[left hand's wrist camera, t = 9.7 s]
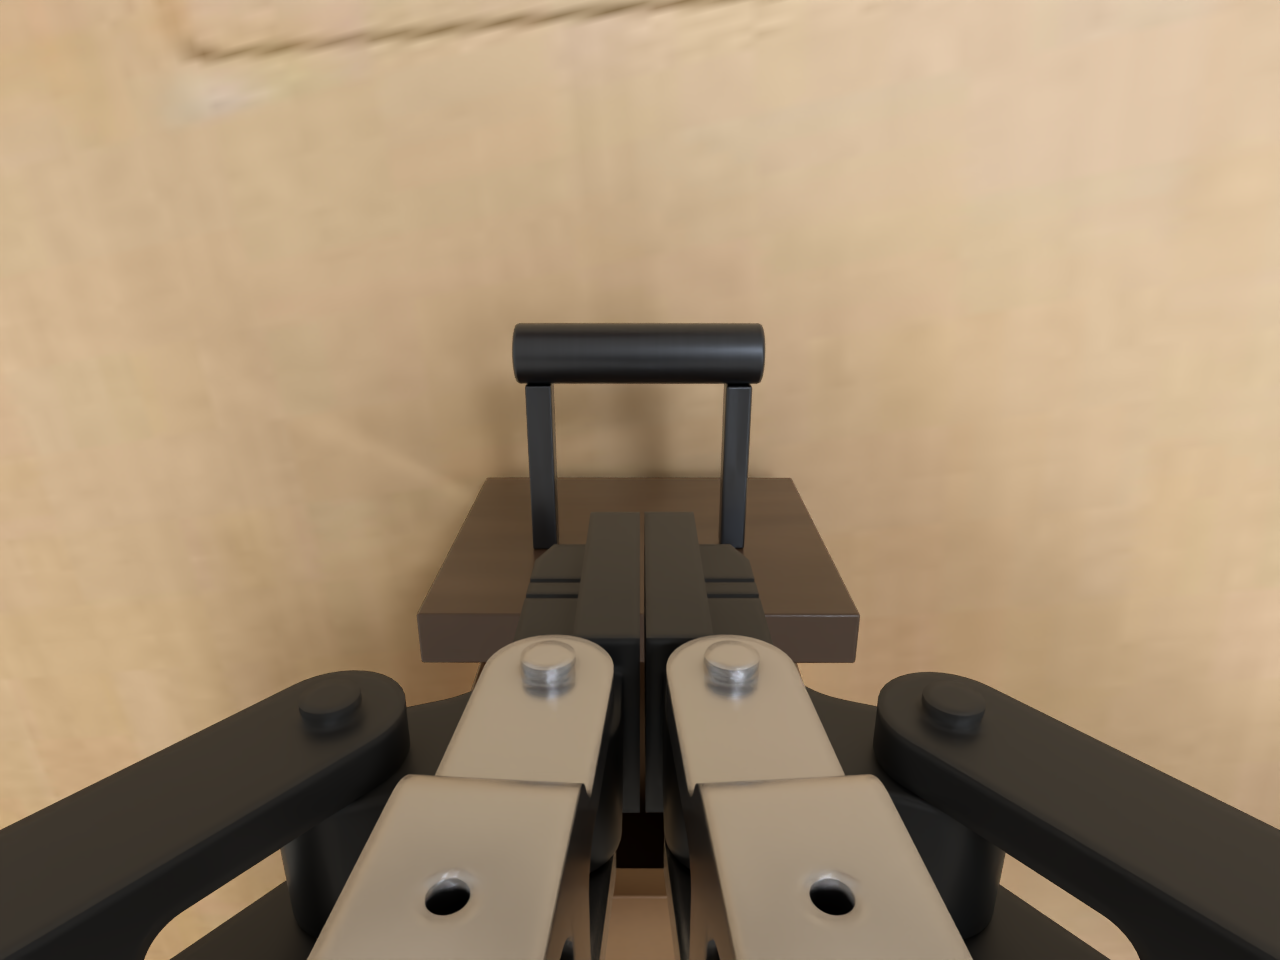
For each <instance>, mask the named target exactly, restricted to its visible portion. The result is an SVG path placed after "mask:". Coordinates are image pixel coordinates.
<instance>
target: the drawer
mask: <svg viewBox="0 0 1280 960" xmlns="http://www.w3.org/2000/svg"><path fill="white" fill-rule="evenodd" d="M512 358H513V370H514V375H515V378H516V381H517V382H518V383H527V384H526V386H525V394H526V415H527V435H528V455H529V476H530V478H487V479H486V481H485V483H484V485H483V487H482V489H481V491H480V492H479V494H478V496H477V498H476V500H475V502H474V504H473V506H472V508H471V510H470V512H469V514H468V516H467V518H466V520H465V522H464V524H463V526H462V528H461V530H460V532H459V533H458V535H457V537H456V539H455V541H454V543H453V545H452V547H451V549H450V551H449V553H448V555H447V557H446V559H445V561H444V563H443V565H442V567H441V569H440V571H439V572H438V574H437V576H436V578H435V580H434V582H433V584H432V586H431V588H430V590H429V592H428V594H427V596H426V598H425V600H424V602H423V604H422V606H421V608H420V610H419V612H418V613H417V622H418V632H419V641H420V650H421V659H422V662H480V665H479V668H478V671H477V674H476V677H475V680H474V683H473V686H472V689H471V691H472V690H474V688H475V686H476V683H477V681H478V679H479V677H480V674H481V672H482V670H483V668H484V666H485V664H486V662H487V661H488V659H489V658H490V657H491V656H492V655H493V654H494V653H496V652H497V651H498V650H500V649H501V648H503V647H505V646H507V645H508V644H511V643H513V640H514V636H515V633H516V629H517V625H518V622H519V618H520V614H521V611H522V607H523V603H524V600H525V598H526V592H527V589H528V585H529V583H530V578H531V574H532V570H533V567H534V563H535V560H536V559H537V558H538V557H540V556H541V555H542V554H543V553H544V552H546V551H547V550H548V549H549V548H550V547H551V546H553V545H554V544H586V540H587V533H588V527H589V520H590V513H591V512H640V813H622V834H621V840H620V843H619V846H618V848H617V850H616V868H664V814H663V812H646V800H645V687H644V512H694V517H695V523H696V530H697V536H698V542H699V544H731V545H732V546H733V547H734V548H735V549H737V550H738V551H739V552H740V553H741V554H743V555H744V556H745V557H746V558H747V559H749V561H750V565H751V568H752V572H753V575H754V581H755V582H756V586H757V589H758V593H759V598H760V600H761V603H762V607H763V610H764V614H765V617H766V621H767V624H768V628H769V631H770V635H771V638H772V642H773V645H774V646H775V647H777V648H779V649H780V650H782V651H783V652H784V653H786V654H787V655H788V656H789V657H790V658H791V659H792V661H793V662H794V664H795V666H796V668H797V670H798V672H799V674H800V671H799V668H798V665H797V663H854V662H855V658H856V649H857V639H858V630H859V621H860V615H859V612H858V610H857V608H856V606H855V604H854V602H853V600H852V598H851V596H850V594H849V592H848V590H847V588H846V586H845V584H844V582H843V580H842V578H841V577H840V575H839V573H838V571H837V569H836V567H835V565H834V563H833V561H832V559H831V557H830V555H829V553H828V551H827V549H826V547H825V545H824V543H823V541H822V539H821V537H820V535H819V533H818V531H817V529H816V527H815V525H814V523H813V521H812V519H811V517H810V515H809V513H808V511H807V509H806V507H805V505H804V503H803V501H802V499H801V497H800V495H799V493H798V491H797V489H796V487H795V485H794V483H793V481H792V479H791V478H748V461H749V441H750V421H751V401H752V387H751V385H750V384H757V383H760V382H761V380H762V377H763V372H764V365H765V336H764V330H763V327H762V325H761V324H750V323H519V324H516V326H515V328H514V332H513V341H512ZM554 384H724V399H723V426H722V453H721V478H557V463H556V436H555V408H554ZM800 677H801V675H800ZM801 679H802V678H801Z"/></svg>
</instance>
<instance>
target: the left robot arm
mask: <svg viewBox="0 0 1280 960" xmlns="http://www.w3.org/2000/svg"><path fill="white" fill-rule="evenodd" d="M644 687H645V800H646V812H663V814H664V878H665V886H666V894H667V901H668V909H669V917H670V925H671V933H672V940H673V948H674V956H675V960H1110V959H1109V958H1107V957H1106V956H1104V955H1103V954H1101V953H1100V952H1098V951H1097V950H1095V949H1094V948H1092V947H1091V946H1089V945H1088V944H1086V943H1085V942H1084V941H1082V940H1081V939H1079V938H1078V937H1076V936H1075V935H1073V934H1072V933H1070V932H1069V931H1067V930H1066V929H1064V928H1063V927H1061V926H1060V925H1059V924H1057V923H1056V922H1054V921H1053V920H1051V919H1050V918H1048V917H1047V916H1045V915H1044V914H1042V913H1041V912H1039V911H1038V910H1036V909H1035V908H1034V907H1032V906H1031V905H1029V904H1028V903H1026V902H1025V901H1023V900H1022V899H1020V898H1019V897H1017V896H1016V895H1014V894H1013V893H1011V892H1010V891H1009V890H1007V889H1006V888H1004V887H1003V886H1001V885H1000V884H999V882H1000V877H1001V872H1002V867H1003V862H1004V857H1005V853H1007V854H1009V855H1010V856H1012V857H1014V858H1015V859H1017V860H1018V861H1020V862H1021V863H1023V864H1024V865H1026V866H1028V867H1029V868H1031V869H1032V870H1034V871H1035V872H1037V873H1038V874H1040V875H1041V876H1043V877H1045V878H1046V879H1048V880H1049V881H1051V882H1052V883H1054V884H1055V885H1057V886H1059V887H1060V888H1062V889H1063V890H1065V891H1066V892H1068V893H1069V894H1071V895H1073V896H1074V897H1076V898H1077V899H1079V900H1080V901H1082V902H1083V903H1085V904H1086V905H1088V906H1090V907H1091V908H1093V909H1094V910H1096V911H1097V912H1099V913H1100V914H1102V915H1103V916H1105V917H1106V918H1108V919H1109V920H1110V921H1111V922H1113V923H1114V924H1115V925H1116V926H1117V927H1118V928H1119V929H1120V930H1121V931H1122V932H1123V933H1124V934H1125V935H1126V937H1127V938H1128V939H1129V941H1130V942H1131V943H1132V945H1133V946H1134V948H1135V950H1136V951H1137V954H1138V956H1139V958H1140V960H1280V830H1279V829H1277V828H1274V827H1272V826H1270V825H1268V824H1266V823H1264V822H1262V821H1260V820H1258V819H1256V818H1254V817H1252V816H1250V815H1248V814H1246V813H1244V812H1242V811H1240V810H1238V809H1236V808H1234V807H1232V806H1230V805H1228V804H1226V803H1224V802H1222V801H1220V800H1218V799H1216V798H1214V797H1212V796H1210V795H1208V794H1206V793H1204V792H1202V791H1200V790H1198V789H1196V788H1194V787H1192V786H1190V785H1188V784H1185V783H1183V782H1181V781H1179V780H1177V779H1175V778H1173V777H1171V776H1169V775H1167V774H1165V773H1163V772H1161V771H1159V770H1157V769H1155V768H1153V767H1151V766H1149V765H1147V764H1145V763H1143V762H1141V761H1139V760H1137V759H1135V758H1133V757H1131V756H1129V755H1127V754H1125V753H1123V752H1121V751H1119V750H1117V749H1115V748H1113V747H1111V746H1109V745H1107V744H1105V743H1103V742H1101V741H1099V740H1096V739H1094V738H1092V737H1090V736H1088V735H1086V734H1084V733H1082V732H1080V731H1078V730H1076V729H1074V728H1072V727H1070V726H1068V725H1066V724H1064V723H1062V722H1060V721H1058V720H1056V719H1054V718H1052V717H1050V716H1048V715H1046V714H1044V713H1042V712H1040V711H1038V710H1036V709H1034V708H1032V707H1030V706H1028V705H1026V704H1024V703H1022V702H1020V701H1018V700H1016V699H1014V698H1012V697H1010V696H1007V695H1005V694H1003V693H1001V692H999V691H997V690H995V689H993V688H991V687H989V686H987V685H985V684H982V683H980V682H978V681H975V680H972V679H969V678H965V677H961V676H957V675H953V674H946V673H937V672H919V673H912V674H907V675H903V676H899V677H897V678H895V679H893V680H891V681H890V682H888V683H887V684H886V685H885V686H884V687H883V688H882V690H881V691H880V694H879V696H878V704H877V706H872V705H867V704H862V703H857V702H852V701H847V700H842V699H838V698H834V697H830V696H827V695H824V694H821V693H819V692H816V691H814V690H812V689H810V688H808V687H806V686H804V683H803V681H802V679H801V677H800V674H799V672H798V670H797V668H796V666H795V664H794V662H793V661H792V659H791V658H790V657H789V656H788V655H787V654H786V653H784V652H783V651H782V650H780V649H779V648H777V647H775V646H774V645H773V642H772V638H771V635H770V631H769V628H768V624H767V621H766V617H765V614H764V610H763V607H762V603H761V600H760V598H759V593H758V589H757V586H756V582H755V581H754V575H753V572H752V568H751V565H750V561H749V559H747V558H746V557H745V556H744V555H743V554H741V553H740V552H739V551H738V550H737V549H735V548H734V547H733V546H732V545H731V544H699V542H698V536H697V530H696V523H695V517H694V512H644ZM622 813H640V512H591V513H590V520H589V527H588V533H587V540H586V544H554V545H553V546H551V547H550V548H549V549H548V550H547V551H546V552H544V553H543V554H542V555H541V556H540V557H538V558H537V559H536V560H535V563H534V567H533V570H532V574H531V578H530V583H529V585H528V589H527V592H526V598H525V600H524V603H523V607H522V611H521V614H520V618H519V622H518V625H517V629H516V633H515V636H514V640H513V643H511V644H508V645H507V646H505V647H503V648H501V649H500V650H498V651H497V652H496V653H494V654H493V655H492V656H491V657H490V658H489V659H488V661H487V662H486V664H485V666H484V668H483V670H482V672H481V674H480V677H479V679H478V681H477V683H476V686H475V688H474V690H472V691H470V692H468V693H465V694H462V695H460V696H457V697H453V698H449V699H445V700H441V701H436V702H431V703H426V704H421V705H416V706H411V707H406V701H405V694H404V692H403V689H402V688H401V686H400V685H399V684H398V683H397V682H396V681H394V680H393V679H392V678H389V677H387V676H385V675H382V674H379V673H375V672H369V671H354V670H352V671H339V672H333V673H327V674H323V675H319V676H316V677H313V678H310V679H307V680H304V681H302V682H299V683H297V684H295V685H293V686H291V687H289V688H287V689H285V690H283V691H281V692H279V693H277V694H275V695H273V696H271V697H268V698H266V699H264V700H262V701H260V702H258V703H256V704H254V705H252V706H250V707H248V708H246V709H244V710H242V711H240V712H238V713H236V714H234V715H232V716H230V717H228V718H226V719H224V720H222V721H220V722H218V723H216V724H214V725H212V726H210V727H208V728H206V729H204V730H202V731H200V732H198V733H196V734H194V735H192V736H190V737H188V738H186V739H184V740H182V741H179V742H177V743H175V744H173V745H171V746H169V747H167V748H165V749H163V750H161V751H159V752H157V753H155V754H153V755H151V756H149V757H147V758H145V759H143V760H141V761H139V762H137V763H135V764H133V765H131V766H129V767H127V768H125V769H123V770H121V771H119V772H117V773H115V774H113V775H111V776H109V777H107V778H105V779H103V780H101V781H99V782H97V783H95V784H93V785H91V786H88V787H86V788H84V789H82V790H80V791H78V792H76V793H74V794H72V795H70V796H68V797H66V798H64V799H62V800H60V801H58V802H56V803H54V804H52V805H50V806H48V807H46V808H44V809H42V810H40V811H38V812H36V813H34V814H32V815H30V816H28V817H26V818H24V819H22V820H20V821H18V822H16V823H14V824H12V825H10V826H8V827H6V828H4V829H2V830H0V960H144V958H145V955H146V953H147V951H148V949H149V947H150V945H151V944H152V942H153V940H154V939H155V938H156V936H157V935H158V934H159V932H160V931H161V930H162V929H163V928H164V927H165V926H166V925H167V924H168V923H169V922H170V921H171V920H172V919H173V918H174V917H176V916H177V915H179V914H180V913H181V912H183V911H184V910H186V909H187V908H189V907H190V906H192V905H194V904H195V903H197V902H198V901H200V900H201V899H203V898H204V897H206V896H208V895H209V894H211V893H212V892H214V891H215V890H217V889H218V888H220V887H221V886H223V885H225V884H226V883H228V882H229V881H231V880H232V879H234V878H235V877H237V876H239V875H240V874H242V873H243V872H245V871H246V870H248V869H249V868H251V867H252V866H254V865H256V864H257V863H259V862H260V861H262V860H263V859H265V858H266V857H268V856H270V855H271V854H273V853H274V852H276V851H277V850H279V849H281V854H282V860H283V865H284V870H285V875H286V881H285V882H283V883H282V884H280V885H279V886H277V887H276V888H274V889H273V890H272V891H270V892H269V893H267V894H266V895H264V896H263V897H261V898H260V899H258V900H257V901H255V902H254V903H252V904H251V905H249V906H248V907H247V908H245V909H244V910H242V911H241V912H239V913H238V914H236V915H235V916H233V917H232V918H230V919H229V920H227V921H226V922H224V923H223V924H222V925H220V926H219V927H217V928H216V929H214V930H213V931H211V932H210V933H208V934H207V935H205V936H204V937H202V938H201V939H199V940H198V941H196V942H195V943H194V944H192V945H191V946H189V947H188V948H186V949H185V950H183V951H182V952H180V953H179V954H177V955H176V956H174V957H173V958H171V959H170V960H605V956H606V948H607V940H608V933H609V925H610V917H611V909H612V901H613V894H614V886H615V878H616V850H617V848H618V846H619V843H620V840H621V834H622Z"/></svg>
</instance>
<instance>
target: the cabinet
mask: <svg viewBox="0 0 1280 960" xmlns="http://www.w3.org/2000/svg"><path fill="white" fill-rule="evenodd" d="M605 960H675V956H674V948H673V940H672V933H671V925H670V917H669V909H668V901H667V894H666V886H665V878H664V868H616V878H615V886H614V894H613V901H612V909H611V917H610V925H609V933H608V940H607V948H606V956H605Z"/></svg>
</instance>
